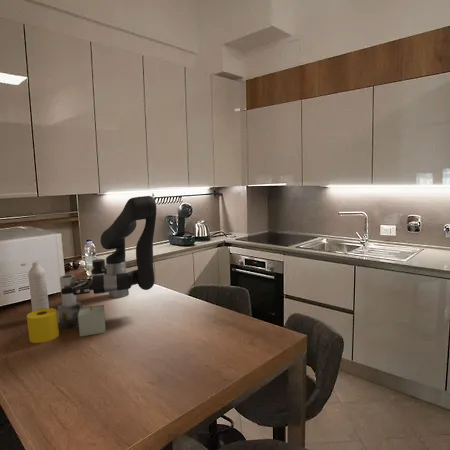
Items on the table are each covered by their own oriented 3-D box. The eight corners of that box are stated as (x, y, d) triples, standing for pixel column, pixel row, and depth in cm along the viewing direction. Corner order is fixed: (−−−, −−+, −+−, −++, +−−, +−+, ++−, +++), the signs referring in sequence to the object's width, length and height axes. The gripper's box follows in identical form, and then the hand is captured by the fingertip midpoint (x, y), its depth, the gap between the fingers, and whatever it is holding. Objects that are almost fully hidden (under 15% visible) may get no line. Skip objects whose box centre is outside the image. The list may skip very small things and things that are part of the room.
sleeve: (77, 302, 149) (74, 274, 147) (76, 306, 144) (73, 277, 142) (63, 303, 147) (61, 275, 145) (62, 308, 142) (59, 279, 140)
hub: (82, 318, 152) (80, 296, 151) (84, 325, 144) (82, 302, 143) (59, 322, 148) (56, 300, 147) (60, 330, 140) (57, 307, 139)
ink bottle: (88, 282, 206) (86, 262, 204) (97, 278, 215) (95, 258, 213) (103, 282, 204) (101, 262, 202) (111, 278, 212) (110, 258, 211)
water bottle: (50, 314, 158) (44, 259, 155) (50, 319, 152) (44, 262, 149) (27, 318, 154) (21, 261, 151) (26, 323, 148) (20, 265, 145)
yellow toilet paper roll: (64, 332, 138) (62, 309, 137) (45, 344, 129) (42, 319, 128) (43, 330, 141) (41, 307, 140) (23, 341, 132) (20, 317, 130)
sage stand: (105, 323, 145) (103, 301, 144) (105, 332, 137) (103, 308, 136) (81, 327, 143) (79, 304, 141) (79, 336, 134) (77, 312, 133)
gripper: (104, 270, 155) (64, 275, 150) (104, 279, 141) (59, 284, 136) (106, 287, 156) (66, 292, 151) (105, 297, 142) (61, 303, 137)
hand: (63, 288), depth 144 cm, fingers open, 8 cm apart
